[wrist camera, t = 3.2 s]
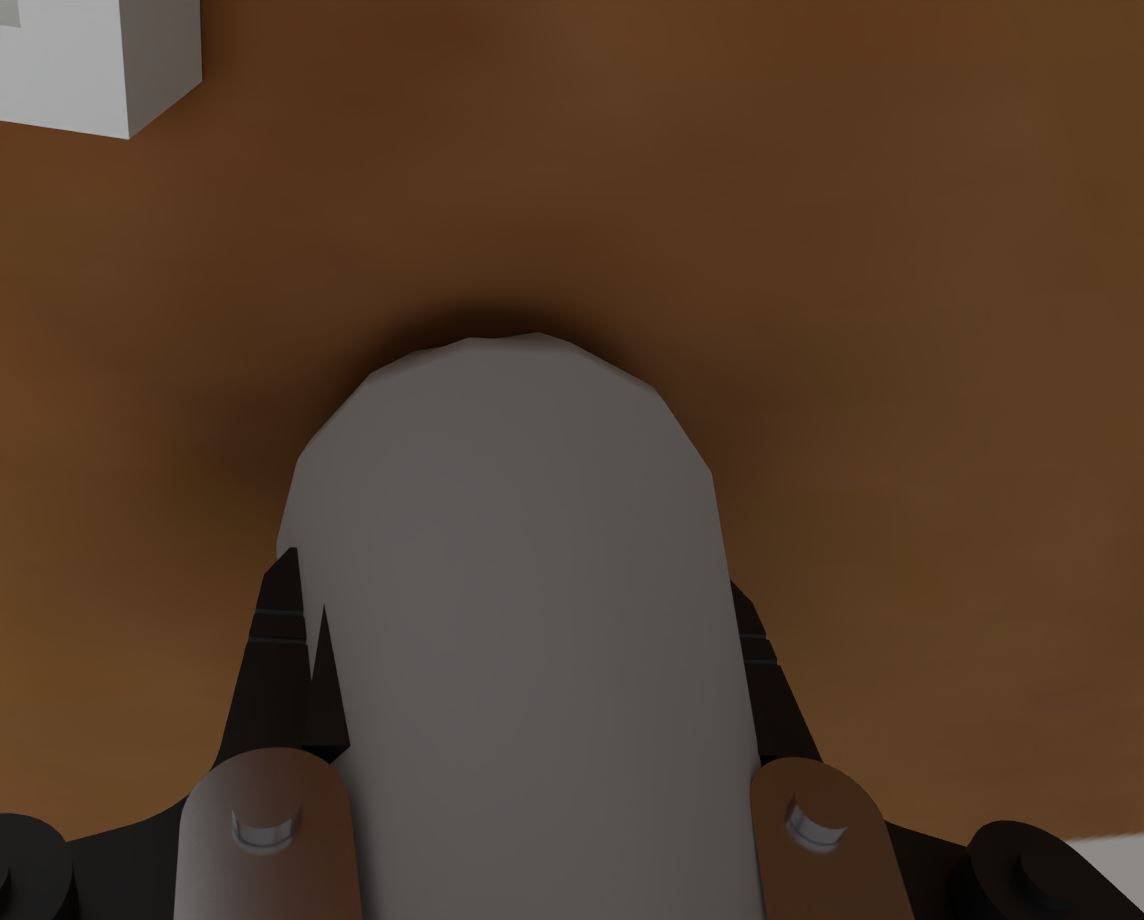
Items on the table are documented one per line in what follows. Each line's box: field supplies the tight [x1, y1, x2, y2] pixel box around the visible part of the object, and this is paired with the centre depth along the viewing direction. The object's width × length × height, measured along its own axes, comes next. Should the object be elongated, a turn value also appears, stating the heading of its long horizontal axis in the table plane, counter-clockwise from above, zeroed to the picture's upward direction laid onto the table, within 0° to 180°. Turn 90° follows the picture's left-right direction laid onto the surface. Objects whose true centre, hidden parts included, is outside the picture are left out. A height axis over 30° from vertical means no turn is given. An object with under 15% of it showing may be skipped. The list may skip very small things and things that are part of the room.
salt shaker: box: [276, 332, 765, 920], centre depth 8 cm, size 6×6×13 cm
